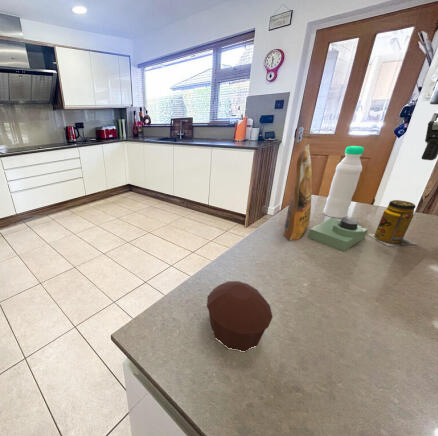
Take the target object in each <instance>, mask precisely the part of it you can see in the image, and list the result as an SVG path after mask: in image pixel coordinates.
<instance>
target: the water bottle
mask: <svg viewBox="0 0 438 436" xmlns="http://www.w3.org/2000/svg"><path fill="white" fill-rule="evenodd" d="M364 151H365V148H364V146H360V145H349V146H347V147H346V148H345V150H344V155H345V156H344V157H343V158H342V159H341V161H340V162H339V163H338V164H337V165H336V167H335V173H334V174H333V177H332V181H331V184H330V188H329V191H328V192H329V193H328V195H327V199H326V201H325V202H326V203H325V206H324V208H323V214H324V215H325V216H328V217H330V218H333V219H345V218H346V217H347V216H348V213H349V210H350V209H349V208H350V206H351V204H352V198H353V196H354V194H355V191H356V190H357V186H358V183H359V180H360V175H361V173H362V171H363V165H362V161H361V156H363V154H364Z"/></svg>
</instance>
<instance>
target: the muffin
mask: <svg viewBox="0 0 438 436" xmlns="http://www.w3.org/2000/svg"><path fill="white" fill-rule="evenodd" d="M206 308H207V310H208V315H209V321H210V322H209V323H210V328H211V327H212V328H211V330H212V329H213V330H212V332H213V331H214V332H213V335H215V336H214V339H215V338H217V339H218V340H220V341H221V342H222V343H223V344H224V345H226V346H227V347H228V348H232V349H238V350H241V351H246V350H248V349H249V348H251V347H254V346H257V347H258V345H259V343H260V341H261V339H262V337H263V335H264V333H265V331H266V329H268V328H269V326H270V325H271V322H272V320H273V317H274V316H273V312H272V309H271V305H270V304H269V302H268V301H267V300H266V298H264V296H263V295H262V293H261V292H260V291H259V290H258V289H257V288H255V287H254V286H252V285H250V284H249V283H247V282H242V281H238V280H231V281H230V280H229V281H226V282H222V283H221V284H219V285H217V286H215V287H214V288H213V289H212V291H210V293H209V294H208V295H207V298H206ZM223 344H222V345H223ZM224 345H223V346H224ZM248 351H249V350H248ZM246 352H247V351H246Z"/></svg>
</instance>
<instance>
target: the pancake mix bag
mask: <svg viewBox="0 0 438 436" xmlns="http://www.w3.org/2000/svg"><path fill="white" fill-rule="evenodd" d="M310 145H311V143H310V142H309V143H307V144H306V145H305V146H303V148H302V149H301V151H299V152H298V153H299V154H298V158H297V162H296V173H295V174H296V175H295V182H294V185H293V189H292V193H291V196H290V199H289V203H288V207H287V213H286V218H285V222H284V223H285V224H284V232H283V237H284V238H285V239H286V240H287V241H289V242H291V241H292V240H297V241H298V240H299V239H301V238H302V236H303V234H304V233H305V231H306V230H307V228H308V227H309V225H310V221H311V214H312V213H311V212H312V185H313V180H312V176H313V171H312V170H313V168H312V160H311V159H312V158H311V153H310Z"/></svg>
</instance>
